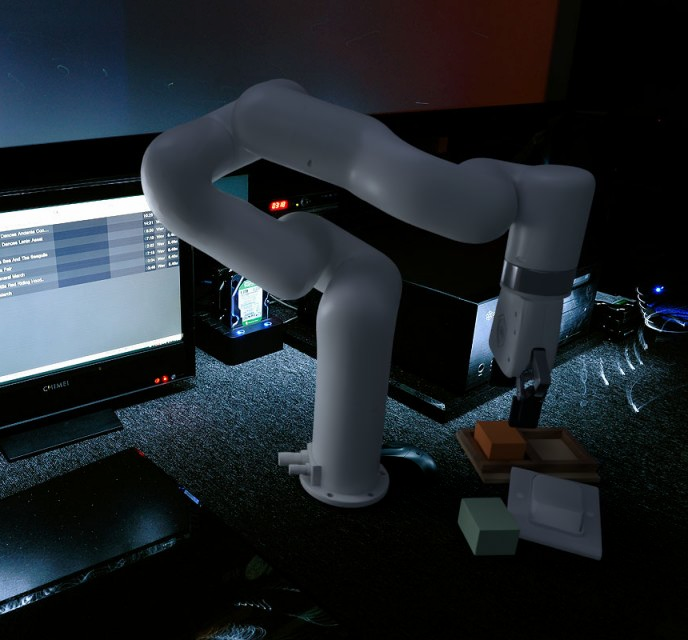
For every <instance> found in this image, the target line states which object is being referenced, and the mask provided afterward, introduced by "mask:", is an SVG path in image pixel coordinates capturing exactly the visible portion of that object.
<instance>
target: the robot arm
mask: <svg viewBox="0 0 688 640" xmlns="http://www.w3.org/2000/svg"><path fill="white" fill-rule="evenodd" d="M261 159H264V160H266V161H269V162H271V163H275V164H277V165H280V166H283V167H286V168H288V169H291V170H294V171H297V172H299V173H302V174H305V175H307V176H311V177H314V178H317V179H318V180H322V181H324V182H327V183H330V184H333V185H334V186H337V187H340V188H342V189H345V190H347V191H348V192H350V193H351V194H352V195H354V196H356V197H357V198H359V199H361V200H362V201H365V202H367V203H368V204H370V205H372V206H373V207H375V208H377V209H379V210H381V211H382V212H384V213H386V214H387V215H389V216H391V217H394V218H395V219H398V220H400V221H402V222H404V223H406V224H409V225H411V226H414V227H417V228H420V229H422V230H425V231H428V232H431V233H434V234H435V235H439V236H441V237H444V238H447V239H450V240H452V241H457V242H459V243H463V244H464V243H465V244H474V245H475V244H485V243H488V242H492V241H494V240H497V239H499V238H500V237H501V236H503V235H504V234H505V233H506V232H507V231H508V230H509V231H508V237H507V242H506V246H505V247H506V248H505V254H504V259H503V263H502V269H501V274H500V282H499V286H500V288H501V289H500V290H499V294H498V299H497V302H496V306H495V310H494V313H493V317H492V318H493V319H492V323H491V328H490V332H489V336H488V347H489V350H490V352H491V353H492V355H493V357H492V360H491V366H490V370H489V376H488V381H487V382H488V385H489V387H494V388H510V389H512V388H514V387H516V388H515V389H516V395H512V399H511V403H510V409H509V414H508V419H507V421H508V424H509V426H510V427H513V428H527V429H536V428H539V427H538V426H539V421H540V417H541V414H542V408H543V404H544V403H545V401H546V397H547V395H548V392H549V389H550V387H551V385H552V377H551V374H552V371H553V369H554V368H553V367H554V365H555V360H556V356H557V352H558V346H559V340H560V335H561V334H560V333H561V327H562V322H563V321H562V320H563V314H564V305H565V304H564V303H565V300H566V299H567V298H570V296H572V293H573V288H574V283H575V279H576V274H577V270H578V265H579V261H580V257H581V254H582V253H581V252H582V248H583V244H584V240H585V235H586V230H587V226H588V223H589V222H588V221H589V217H590V214H591V210H592V209H591V208H592V204H593V201H594V197H595V190H596V179H595V176H594V175H593V173H591V172H590V171H589V170H587V169H584V168H581V167H576V166H572V165H564V164H563V165H562V164H538V165H530V164H529V165H528V164H523V163H522V164H521V163H516V162H511V161H510V162H509V161H504V160H499V159H495V158H489V157H475V158H470V159H467V160H464V161H462V162H461V163H459V164H457V163H455V162H451V161H449V160H446V159H443V158H440V157H437V156H435V155H433V154H430V153H428V152H425V151H424V150H422V149H419V148H417V147H415V146H413V145H411V144H409V143H408V142H406V141H405V140H403V139H402V138H400V137H399V136H398V135H397V134H395V133H394V132H393V131H392V130H391V129H390V128H389V127H388V126H387V125H386V124H384V123H383V122H382V121H380V120H379V119H377V118H375V117H373V116H370V115H368V114H365V113H361V112H359V111H356V110H353V109H350V108H346V107H344V106H340V105H337V104H335V103H332V102H329V101H326V100H324V99H320V98H317V97H315V96H312V95H310V94H309V92H308V91H307V90H306V89H305V88H304V87H303V86H302V85H300V84H299V83H298V82H296V81H294V80H291V79H287V78H275V79H274V78H273V79H269V80H267V81H263V82H260V83H256V84H254V85H252V86H250V87H249V88H247V89H246V90H244V91H243V92H242V94H241V95H240V96H239V97H238V98H237V99H235V100H233V101H231V102H229V103H227V104H225V105H223V106H221V107H219V108H217V109H215V110H213V111H211V112H208V113H207V114H204V115H203V116H201V117H199V118H196V119H193V120H189V121H188V122H185V123H182V124H179V125H176V126H174V127H170V128H169V129H166V130H165V131H163V132H162V133H161V134H158V135H157V136H156V137H155V138H154V139H153V140H152V141H151V142H150V144H149V145H148V146H147V147H146V149H145V151H144V154H143V157H142V160H141V166H140V182H141V188H142V192H143V195H144V198H145V201H146V203H147V205H148V207H149V209H150V211H151V212H152V214H153V215H154V217H155V218H156V219H157V221H158V222H159V223H160V224H161V225H162V226H163V227H164V228H165V229H166V230H167V231H169V232H170V233H171V234H173V235H174V236H175V237H177V238H179V239H180V240H182V241H184V242H186V243H187V244H189V245H191V246H192V247H194V248H196V249H197V250H199V251H200V252H203V253H205V254H206V255H208V257H209V256H210V257H212V259H214V260H216V261H217V262H219V263H220V264H221V265H223V266H224V267H226V268H228V269H229V270H231V271H233V272H235V273H236V274H238V275H239V276H241V277H243V278H244V279H245V280H247V281H248V282H250V283H252V284H254V285H255V286H257V287H259V289H262V290H263V291H264V292H266V293H267V294H270V295H272V296H274V297H276V298H277V299H280V300H286V301H291V300H292V301H293V300H298V299H300V298H302V297H304V296H306V295H307V294H308V293H309V292H311V291H312V289H313V288H314V289H316V290H317V291H319V292H321V293H323V294H322V295H321V298H320V301H319V304H318V309H317V314H316V322H315V323H316V326H315V327H316V329H315V331H316V369H315V370H316V373H315V391H314V392H315V393H314V394H315V395H314V408H313V410H314V411H313V426H312V442H307V444H306V449H300V451H299V452H291V451H289V452H288V451H284V452H283V451H282V452H281V451H280V452H278V455H277V457H278V466H280V467H288V475H289V476H290V475H291V476H292V475H294V476H295V475H297V476H298V475H299V481H300V484H301V486H302V487H303V489H304V490H305V491H306V492H307V493H308V494H309V495H310V496H312V497H313V498H315V499H317V500H318V501H320V502H322V503H325V504H327V505H330V506H334V507H339V508H346V509H348V508H349V509H357V508H364V507H368V506H372V505H374V504H376V503H378V502H380V501H381V500H382V499H383V498H384V497H385V496H386V495H387V493H388V490H389V488H390V476H389V472H388V470H387V469H386V468H385V466H384V465H383V464H382V463H381V457H382V449H383V439H384V438H383V437H384V431H385V420H386V413H387V411H386V410H387V404H388V403H387V402H388V395H389V385H390V376H391V375H390V374H391V365H392V355H393V354H392V353H393V345H394V337H395V330H396V325H397V319H398V312H399V308H400V301H401V298H402V292H403V278H402V275H401V272H400V270H399V268H398V266H397V265H396V264H395V263H394V261H393V260H392V259H391V258H390V257H388V256H387V255H386V254H384V253H383V252H382V251H380V250H378V249H377V248H376V247H373V246H372V245H370V244H369V243H366V242H365V241H364V240H362V239H360V238H358V237H357V236H355V235H353V234H351V232H349V231H346V230H345V229H343V228H342V227H340V226H338V225H336V223H334V222H331V221H330V220H328V219H326V218H325V217H322V216H320V215H318V214H315V213H311V212H306V211H294V212H290V213H286V214H284V215H282V216H281V217H279V218H278V219H277V218H275V217H274V216H271V215H270V214H268V213H266V212H264V211H262V210H260V209H259V208H257V207H256V206H254V205H253V204H252V203H250V202H248V201H247V200H245V199H243V198H241V197H238V196H235V195H233V194H230V193H228V192H225V191H223V190H221V189H220V188H218V187H217V186H216V185H214V182H216V181H218V180H219V179H221V178H223V177H224V176H226V175H228V174H230V173H232V172H234V171H236V170H239V169H241V168H244V167H245V166H247V165H250V164H253V163H255V162H256V161H259V160H261ZM525 370H532V371H533V372H524V371H525ZM525 380H527V381H533V382H532V385H528V386H527V387H526V388H525Z"/></svg>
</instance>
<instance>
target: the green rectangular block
mask: <svg viewBox="0 0 688 640" xmlns="http://www.w3.org/2000/svg"><path fill="white" fill-rule="evenodd" d="M457 524H458V527H459V528H460V530H461V532H462V534H463V536H464V538H465V540H466V542H467V543H468V546H469V547H470V549H471V551H472V553H473V555H474V556H514V555H516V552H517V547H518V542H519V539H520V538H519V534H520V528H519V526H518V525H517V523H516V522H515V520H514V519H513V517H512V516H511V514H510V512H509V511H508V509H507V506H506V504H505V503H504V501H503V499H502V498H501V497H462V498H461V501H460V507H459V511H458V518H457Z"/></svg>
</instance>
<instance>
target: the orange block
mask: <svg viewBox="0 0 688 640" xmlns="http://www.w3.org/2000/svg"><path fill="white" fill-rule="evenodd" d="M474 428H475V433H474V441H475V442H476V444H477V445H478V447H479V448H480V450H481V452H482V453H483V455H484V456H485V458H486V459H487V461H497V460H523V458H524V453H525V448H526V444H527V443H526V442H525V440H524V439H523V438H522V436H521V435H520V434H519V432H518V431H517V430H516V429H515V428H513V427H510V426H509V424H508V420H476V423H475V427H474Z"/></svg>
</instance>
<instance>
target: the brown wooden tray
mask: <svg viewBox="0 0 688 640" xmlns="http://www.w3.org/2000/svg"><path fill="white" fill-rule="evenodd" d="M515 429H516V430H517V431H518V432H519V434H520V435H521V436H522V438H523V439H524V440H525V442H526V443H527V444H526V448H525V453H524V458H523V460H497V461H487V459H486V458H485V456H484V455H483V453H482V452H481V450H480V448H479V447H478V445H477V444H476V442H475V441H474V433H475V427H474V428H473V427H466V428H465V427H461V428H460V429H459V431H456V432H455V437H456V439H457V441H458V443H459V444H460V446H461V447H462V449H463V452H464V453H465V455H466V456H467V457H468V459H469V461H470V463H471V464H472V466H473V467H474V469H475V471H476V473H477V474H478V476H479V477H480V479H481V481H482V482H483V484H510V475H511V469H512V467H517V468H521V469H525V470H529V471H533V472H537V473H542V474H546V475H550V476H554V477H558V478H562V479H566V480H570V481H574V482H578V483H582V484H584V483H600V482H601V476H600V475H599V474H598V473H597V469H598V467H599V463H598V461H596V459H594V457H593V456H592V454H590V453H589V452H588V451H587V449H586V448H585V447H584V446H583V445H582V443H580V442H579V440H578V439H577V438H576V437H575V436H574V435H573V434H572V433H571V431H570V430H569V429H568V428H567V427H565V426H564V427H563V426H562V427H561V426H560V427H558V426H557V427H551V426H550V427H537V428H536V429H527V428H515Z"/></svg>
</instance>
